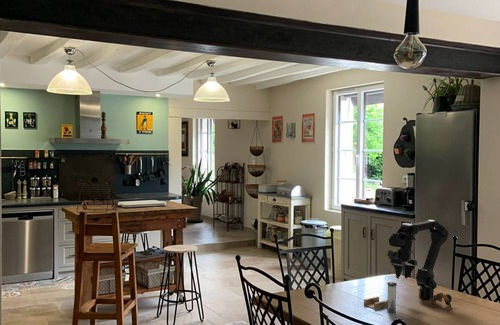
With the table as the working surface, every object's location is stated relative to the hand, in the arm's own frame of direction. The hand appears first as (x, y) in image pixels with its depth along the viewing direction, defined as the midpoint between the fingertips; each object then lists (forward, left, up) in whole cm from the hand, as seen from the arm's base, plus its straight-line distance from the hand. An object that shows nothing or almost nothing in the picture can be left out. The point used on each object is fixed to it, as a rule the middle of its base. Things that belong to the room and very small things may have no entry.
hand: (401, 278), depth 255 cm
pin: (+9, +14, -13) cm, 21 cm away
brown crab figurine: (-19, +4, -13) cm, 24 cm away
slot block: (+14, +5, -13) cm, 19 cm away
